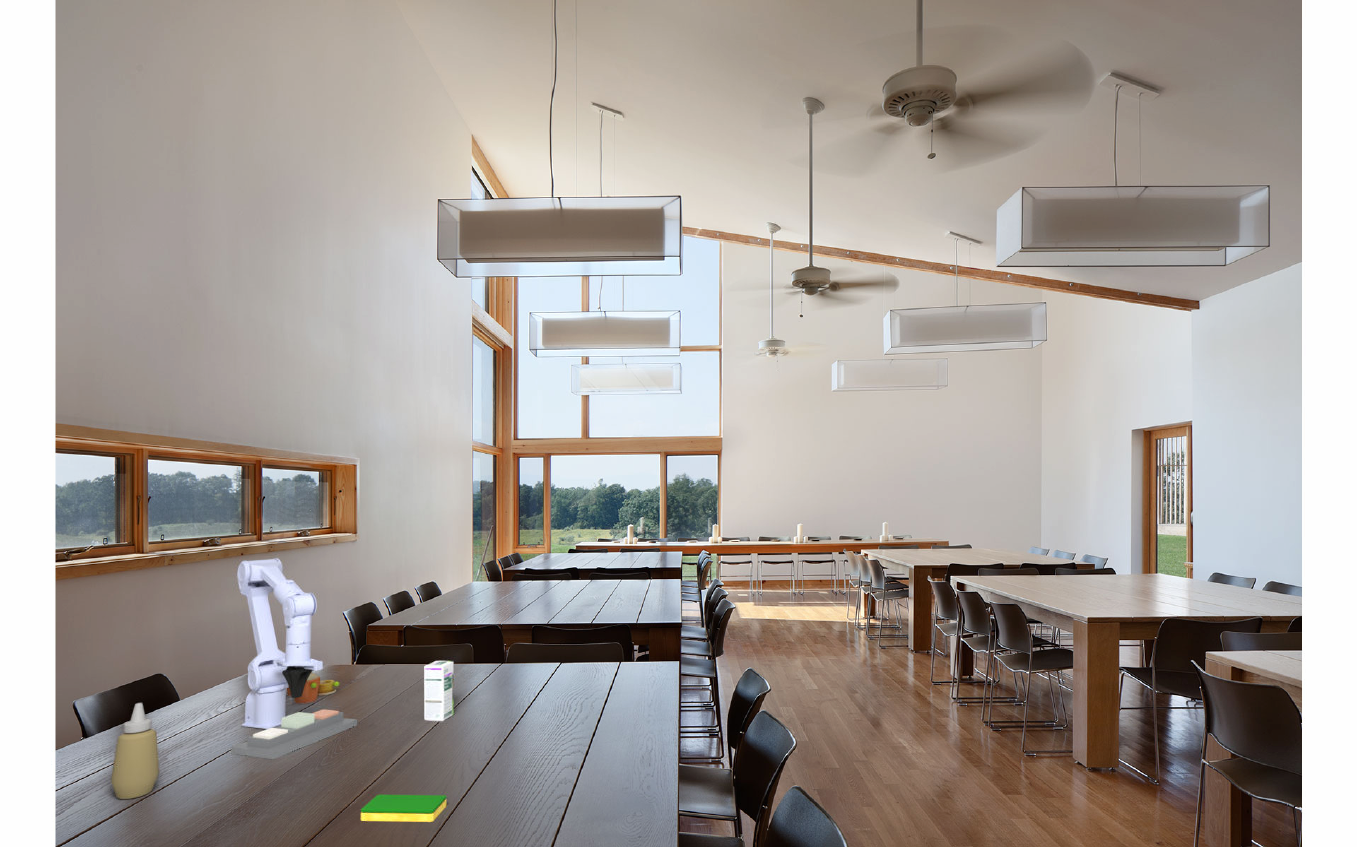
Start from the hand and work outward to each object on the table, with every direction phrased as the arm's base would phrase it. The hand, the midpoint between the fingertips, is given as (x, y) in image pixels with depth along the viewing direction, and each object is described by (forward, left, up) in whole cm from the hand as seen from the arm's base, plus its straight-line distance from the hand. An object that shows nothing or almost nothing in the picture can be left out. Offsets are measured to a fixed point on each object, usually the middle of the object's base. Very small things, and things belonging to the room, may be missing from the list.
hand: (296, 697), depth 190 cm
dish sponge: (+58, -29, -10) cm, 66 cm away
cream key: (+3, -10, -8) cm, 13 cm away
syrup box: (+26, +23, -10) cm, 36 cm away
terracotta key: (+3, +6, -8) cm, 10 cm away
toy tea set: (-31, +27, -10) cm, 42 cm away
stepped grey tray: (+3, -2, -9) cm, 10 cm away
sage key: (+3, -2, -6) cm, 7 cm away
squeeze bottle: (-1, -39, -10) cm, 40 cm away
